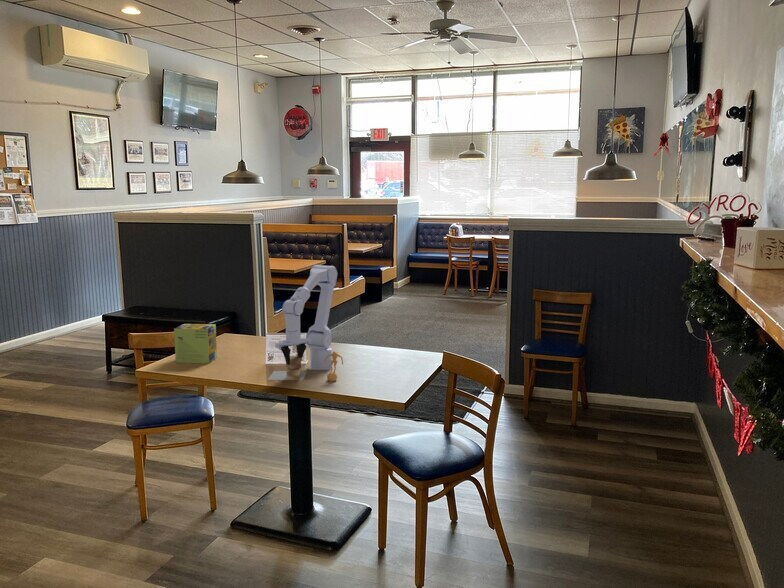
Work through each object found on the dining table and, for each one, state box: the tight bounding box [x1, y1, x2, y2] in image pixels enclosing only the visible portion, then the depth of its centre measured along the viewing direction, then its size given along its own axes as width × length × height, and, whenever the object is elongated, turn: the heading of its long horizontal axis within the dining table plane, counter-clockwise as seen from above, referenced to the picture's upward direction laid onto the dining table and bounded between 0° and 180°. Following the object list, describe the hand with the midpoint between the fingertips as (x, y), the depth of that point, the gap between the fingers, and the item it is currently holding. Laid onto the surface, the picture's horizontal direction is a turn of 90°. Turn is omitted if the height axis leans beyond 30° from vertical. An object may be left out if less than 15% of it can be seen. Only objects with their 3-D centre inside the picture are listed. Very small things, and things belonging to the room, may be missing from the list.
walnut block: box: [285, 355, 302, 369], centre depth 245 cm, size 4×4×4 cm
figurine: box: [324, 350, 344, 382], centre depth 243 cm, size 8×6×12 cm
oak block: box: [286, 367, 302, 381], centre depth 246 cm, size 5×5×4 cm
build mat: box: [267, 370, 308, 381], centre depth 249 cm, size 14×12×1 cm
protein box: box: [173, 323, 218, 365], centre depth 272 cm, size 10×15×16 cm
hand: (293, 363), depth 245 cm, fingers closed on walnut block, 4 cm apart
